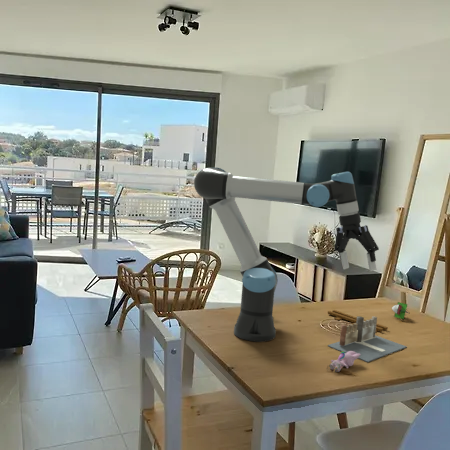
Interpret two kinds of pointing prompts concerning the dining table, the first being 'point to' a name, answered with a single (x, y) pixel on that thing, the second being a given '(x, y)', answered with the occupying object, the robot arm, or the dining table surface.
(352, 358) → the rabbit figure
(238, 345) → the dining table surface
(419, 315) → the dining table surface
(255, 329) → the robot arm
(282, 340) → the dining table surface
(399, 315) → the geometric puzzle
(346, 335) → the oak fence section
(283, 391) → the dining table surface
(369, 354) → the board
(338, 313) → the decorative fence
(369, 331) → the white fence section
